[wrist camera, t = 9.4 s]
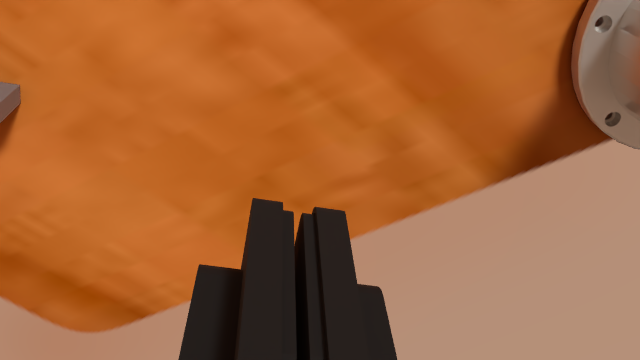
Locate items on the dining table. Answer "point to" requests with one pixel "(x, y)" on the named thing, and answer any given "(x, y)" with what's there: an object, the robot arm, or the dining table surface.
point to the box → (8, 99)
